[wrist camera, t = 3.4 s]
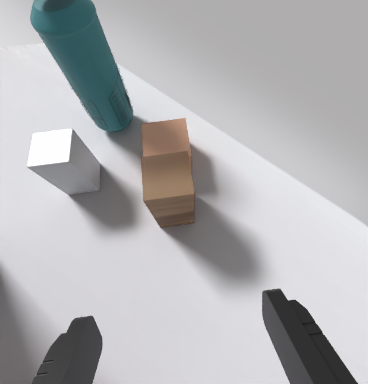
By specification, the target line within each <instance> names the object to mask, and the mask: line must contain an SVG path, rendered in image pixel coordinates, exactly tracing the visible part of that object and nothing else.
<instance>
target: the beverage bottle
mask: <svg viewBox="0 0 368 384" xmlns="http://www.w3.org/2000/svg"><path fill="white" fill-rule="evenodd" d="M30 19H31V24H32V25H33V27H34V29H35V30H36V31H37V32H38V34H39V35H40V37H41V39H42V40H43V42H44V43H45V45H46V47H47V48H48V50H49V51H50V53H51V54H52V56H53V58H54V59H55V61H56V62H57V64H58V65H59V67H60V69H61V70H62V72H63V73H64V74H63V75H65V77H66V78H67V80H68V82H69V83H70V85H71V87H72V89H73V90H74V93H76V94H77V95H76V96H78V97H79V99H80V100H81V102H82V103H83V105H84V106H83V107H85V108H86V109H85V110H87V111H88V112H87V111H86V112H87V113H89V114H90V115H89V114H88V115H89V116H91V117H92V119H93V120H94V122H95V123H96V125H97V126H98V127H99V128H101V129H103V130H105V131H118V130H121V129H123V128H125V127H126V126H127V125H128V124H129V123H130V122H131V120H132V117H133V108H132V107H133V106H131V104H130V100H129V97H128V95H127V93H128V92H127V93H126V91H127V90H125V87H124V85H123V81H122V80H123V79H121V77H122V76H120V74H119V71H118V68H119V67H118V68H117V66H118V65H117V66H116V63H115V60H114V58H113V55H112V53H111V50H110V47H109V45H108V43H107V40H106V37H105V35H104V32H103V29H102V27H101V24H100V21H99V19H98V16H97V13H96V9H95V6H94V4H93V2H92V1H91V0H34V2H33V5H32V10H31V16H30ZM70 85H69V86H70ZM79 99H78V100H79ZM82 103H81V104H82Z"/></svg>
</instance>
